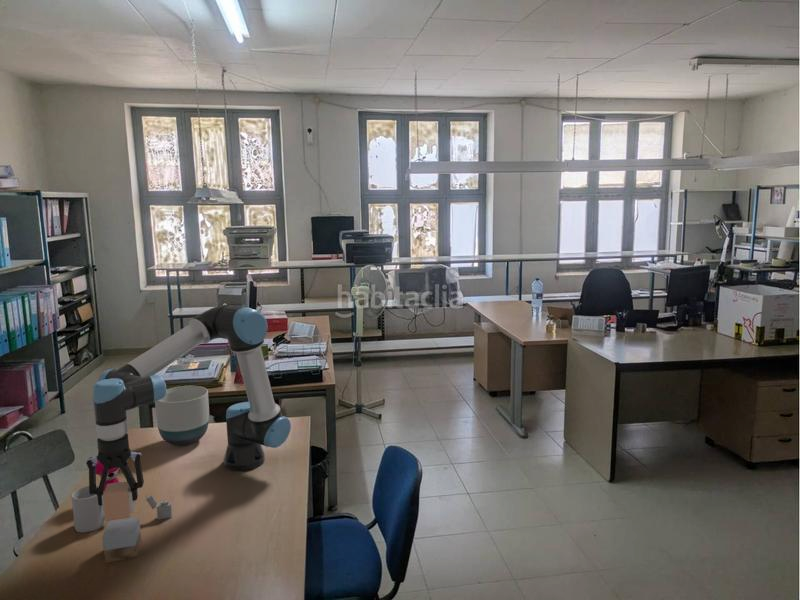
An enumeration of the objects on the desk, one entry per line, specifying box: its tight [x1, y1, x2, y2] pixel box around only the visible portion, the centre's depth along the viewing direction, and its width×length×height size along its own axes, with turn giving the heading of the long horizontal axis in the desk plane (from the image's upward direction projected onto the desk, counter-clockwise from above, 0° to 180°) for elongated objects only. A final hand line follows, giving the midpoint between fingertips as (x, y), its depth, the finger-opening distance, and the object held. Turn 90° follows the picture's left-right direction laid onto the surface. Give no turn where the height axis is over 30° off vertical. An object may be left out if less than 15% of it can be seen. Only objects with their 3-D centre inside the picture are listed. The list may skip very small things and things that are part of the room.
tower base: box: [103, 531, 142, 564], centre depth 155 cm, size 8×8×4 cm
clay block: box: [103, 480, 131, 522], centre depth 153 cm, size 6×6×8 cm
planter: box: [154, 385, 210, 447], centre depth 225 cm, size 20×20×21 cm
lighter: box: [145, 494, 173, 520], centre depth 172 cm, size 7×2×8 cm, turn 106°
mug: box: [71, 484, 107, 534], centre depth 168 cm, size 12×8×11 cm
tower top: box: [101, 516, 141, 551], centre depth 154 cm, size 8×8×4 cm
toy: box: [96, 461, 121, 492], centre depth 183 cm, size 8×8×15 cm
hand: (119, 512), depth 153 cm, fingers closed on clay block, 6 cm apart
